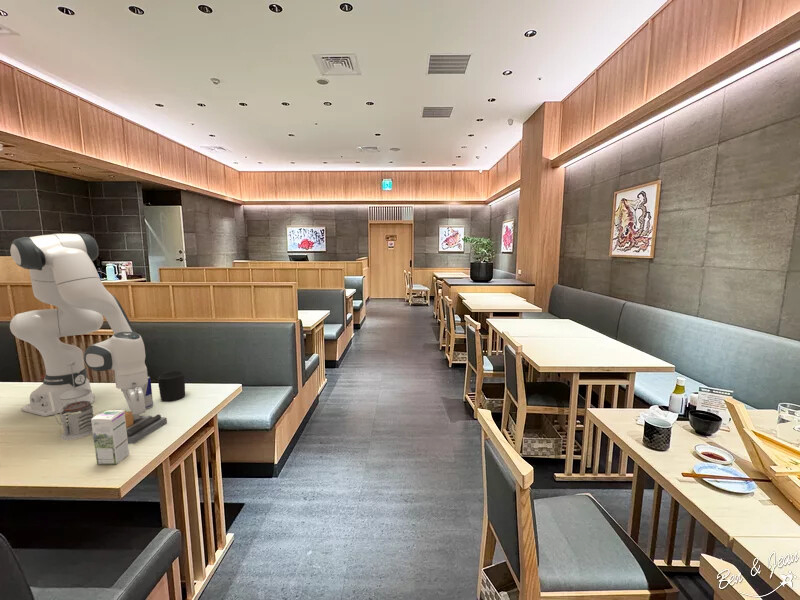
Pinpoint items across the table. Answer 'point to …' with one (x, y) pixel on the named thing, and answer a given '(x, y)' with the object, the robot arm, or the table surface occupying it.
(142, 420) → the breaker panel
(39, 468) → the table surface
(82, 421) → the french press
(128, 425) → the lever
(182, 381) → the pen holder
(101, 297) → the robot arm
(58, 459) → the table surface
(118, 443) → the syrup box
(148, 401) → the energy drink
